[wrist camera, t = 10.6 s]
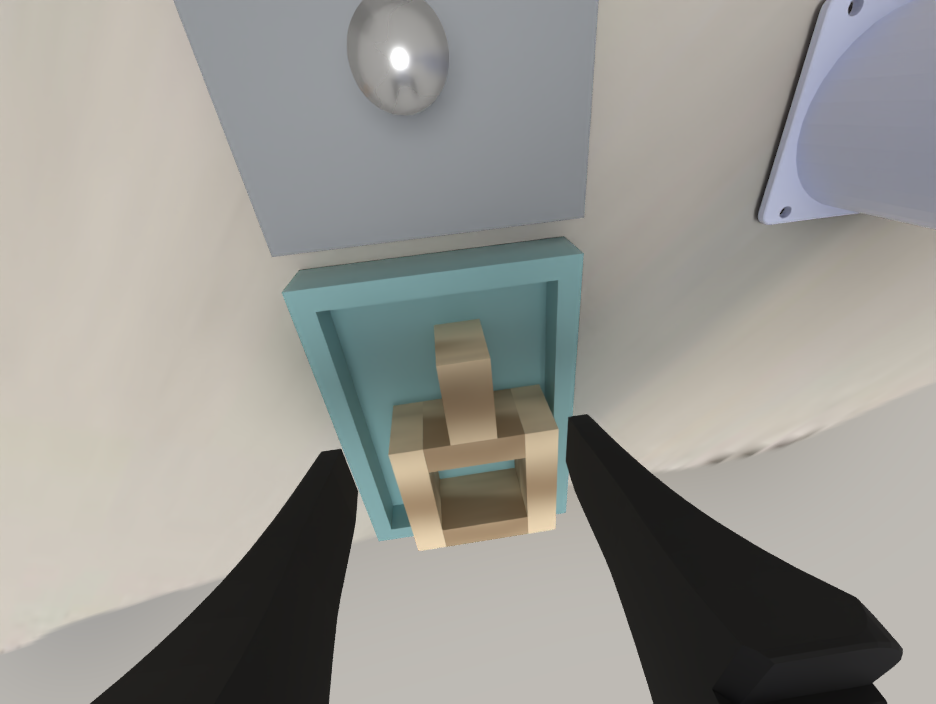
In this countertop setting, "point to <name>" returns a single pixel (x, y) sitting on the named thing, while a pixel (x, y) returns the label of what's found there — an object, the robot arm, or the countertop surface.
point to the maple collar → (474, 450)
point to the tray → (413, 345)
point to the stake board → (387, 158)
